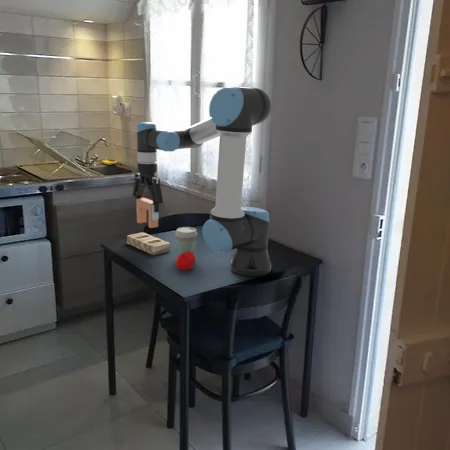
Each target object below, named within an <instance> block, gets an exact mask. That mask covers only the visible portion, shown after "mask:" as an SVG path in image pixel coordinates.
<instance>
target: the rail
mask: <svg viewBox="0 0 450 450" xmlns="http://www.w3.org/2000/svg"><path fill="white" fill-rule="evenodd" d="M126 244H128V245H130V246H133V247H134V248H136V249H139V250H141V251H142V252H143V251H144V252H146V253H148V254H150V255H152V256H156V255H160V254H164V253H165V254H166V253H169V252H171V243H170V242H169V241H165V240H164V239H161V238H159V237H155V236H153V235H151V234H148V233H146V232H144V231H143V232H138V233H132V234H129V235H127V236H126Z"/></svg>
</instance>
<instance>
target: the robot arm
mask: <svg viewBox="0 0 450 450" xmlns="http://www.w3.org/2000/svg"><path fill="white" fill-rule="evenodd" d="M211 97H212V98H211V99H210V101H209V107H208V112H209V117H208V118H206V119H204V120H202V121H200V122H198V123H195V124H194V125H191V126H189V127H187V128H179V129H178V128H177V129H159V128H158V127H157V124H156V122H151V121H144V122H143V121H142V122H138V123H137V126H136V127H137V128H136V146H137V149H136V151H137V152H136V159H137V164H136V165H137V172H138V173H135V174H134V184H133V190H132V196H133V197H134V198H135V201H136V202H135V204H136V207H137V199H139V198H144V196H143V195H144V192H145V189H146V188H147V190H148V191H149V194H150V197H151V200H152V201H153V203H152V220H158V221H159V218H160V217H159V212H160V204H163V203H164V201H163V196H162V189H161V178H160V177H155V174H156V173H157V169H158V167H157V166H158V163H157V155H158V154H157V150H159V151H163V152H174V151H176V150H181V149H183V150H184V149H196V148H200V147H202V146H203V144H204V143H206V142H208V141H211V140H213V139H215V138H218V137H219V145H218V160H217V176H216V192H215V206H214V207H213V208H212V209H211V210H210V215H209V218H210V219H208V220H206V221H205V222H204V224H203V226H202V230H201V231H202V232H201V233H202V237H203V240H204V243H205V244H206V245H207V247H208V248H209V249H210V250H212V251H213V252H215V253H219V254H220V253H221V254H222V253H225V252H227V253H228V252H230V251H232V250H234V252H233V255H232V257H231V260H230V265H229V266H230V267H229V269H230V271H232V272H233V273H234V274H237V275H241V276H246V277H259V276H260V277H261V276H264V275H268V274H269V273H271V271H272V262H271V261H270V256H269V255H270V254H269V251H268V247H269V246H268V244H269V230H270V229H269V228H270V213H269V212H268V211H267V210H266V209H262V208H259V207H251V206H242V199H243V198H242V197H243V196H242V195H243V187H244V186H243V184H244V171H245V163H246V162H245V159H246V150H247V149H246V148H247V147H246V146H247V138H248V136H249V135H251V134H252V132H253V126H256V125H259V124H261V123H264V122H265V121H266V120H267V119H268V118H269V116H270V114H271V113H272V112H271V111H272V101H271V98H270V96H269V94H267V92H266V91H264V90H263V89H261V88H258V87H241V86H237V87H236V86H228V87H227V86H226V87H222V88H220V89H218V90H217V91H216V92H215V93H214V94H213V95H212V96H211Z"/></svg>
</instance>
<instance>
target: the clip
mask: <svg viewBox="0 0 450 450" xmlns="http://www.w3.org/2000/svg"><path fill="white" fill-rule="evenodd" d="M152 203H153V201H152V199H149V198H146V197H143V198H139V199H137V206H136V222H137V223H136V224H143V223H148V228H150V229H153V228H158V227H159V219H158V220H152ZM147 212H148V217H147ZM147 218H148V221H147Z"/></svg>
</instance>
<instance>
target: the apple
mask: <svg viewBox="0 0 450 450" xmlns="http://www.w3.org/2000/svg"><path fill="white" fill-rule="evenodd" d="M195 263H196V256H195V254H194V255H193V252H192V253H191V252H185V253H182V254H181V255H179V256H178V255H177V258H176V260H175V265H176V267H177V268H178V269H179V270H181V271H187V270H188V271H189V270H191V269H193V266H194V264H195Z"/></svg>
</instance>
